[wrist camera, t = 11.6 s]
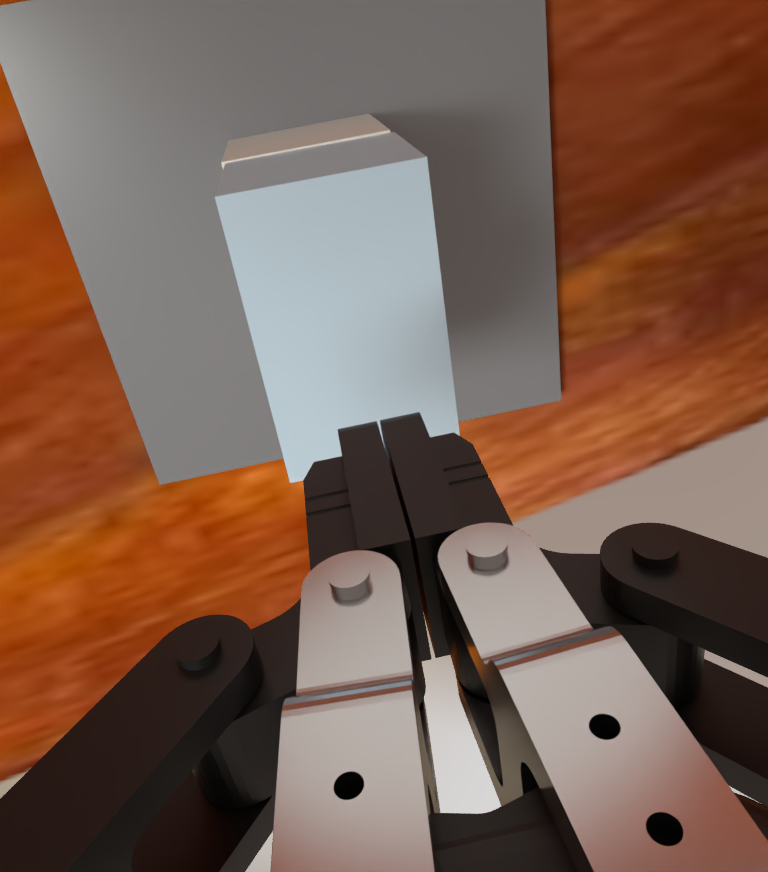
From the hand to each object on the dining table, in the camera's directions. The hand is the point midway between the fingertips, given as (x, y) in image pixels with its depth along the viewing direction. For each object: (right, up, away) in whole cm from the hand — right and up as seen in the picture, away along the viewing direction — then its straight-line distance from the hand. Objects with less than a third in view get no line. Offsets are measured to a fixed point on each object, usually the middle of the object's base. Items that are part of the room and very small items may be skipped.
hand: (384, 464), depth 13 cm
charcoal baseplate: (-2, +8, +15) cm, 18 cm away
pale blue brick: (-2, +5, +10) cm, 12 cm away
